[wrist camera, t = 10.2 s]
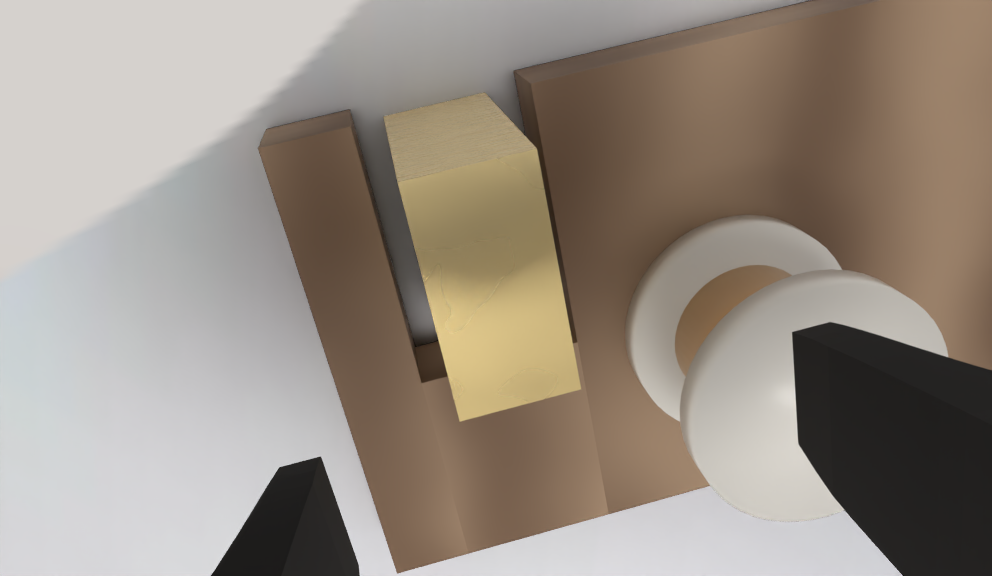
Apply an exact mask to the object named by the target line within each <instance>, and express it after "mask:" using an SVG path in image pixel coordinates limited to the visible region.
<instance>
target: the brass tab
mask: <svg viewBox="0 0 992 576" xmlns="http://www.w3.org/2000/svg"><path fill="white" fill-rule="evenodd" d="M383 117H384V122H385V127H386V131H387V136H388V141H389V145H390V150H391V155H392V159H393V164H394V169H395V173H396V178H397V183H398V186H399V190H400V194H401V198H402V202H403V206H404V209H405V213H406V217H407V221H408V225H409V229H410V233H411V236H412V240H413V244H414V248H415V252H416V256H417V259H418V263H419V267H420V271H421V275H422V279H423V282H424V286H425V290H426V294H427V298H428V302H429V306H430V309H431V313H432V317H433V321H434V325H435V329H436V332H437V336H438V340H439V344H440V348H441V352H442V355H443V359H444V363H445V367H446V371H447V375H448V378H449V382H450V386H451V390H452V394H453V398H454V402H455V405H456V409H457V413H458V417H459V421H464V420H468V419H472V418H475V417H479V416H483V415H487V414H490V413H494V412H498V411H502V410H505V409H509V408H513V407H517V406H520V405H524V404H528V403H532V402H535V401H539V400H543V399H547V398H550V397H554V396H558V395H562V394H565V393H569V392H573V391H577V390H580V389H581V385H580V380H579V375H578V369H577V364H576V358H575V353H574V347H573V342H572V336H571V331H570V326H569V320H568V315H567V309H566V304H565V298H564V293H563V287H562V282H561V277H560V271H559V266H558V260H557V255H556V249H555V244H554V238H553V233H552V228H551V222H550V217H549V211H548V206H547V200H546V195H545V190H544V184H543V179H542V173H541V168H540V162H539V157H538V151H537V148H536V147H535V146H534V145H533V144H532V143H531V142H530V141H529V140H528V138H527V137H526V136H525V135H524V134H523V133H522V132H521V131H520V130H519V129H518V128H517V127H516V126H515V125H514V123H513V122H512V121H511V120H510V119H509V118H508V117H507V116H506V115H505V114H504V113H503V112H502V111H501V109H500V108H499V107H498V106H497V105H496V104H495V103H494V102H493V101H492V100H491V99H490V98H489V97H488V96H487V94H486V93H485V92H484V93H480V94H476V95H471V96H467V97H463V98H459V99H455V100H450V101H446V102H442V103H438V104H434V105H429V106H425V107H421V108H417V109H413V110H408V111H404V112H400V113H396V114H391V115H387V116H383Z"/></svg>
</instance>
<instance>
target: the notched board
mask: <svg viewBox="0 0 992 576" xmlns="http://www.w3.org/2000/svg"><path fill="white" fill-rule="evenodd" d="M514 76H515V81H516V86H517V92H518V97H519V102H520V108H521V113H522V118H523V124H524V129H525V134H526V137H527V138H528V140H529V141H530V142H531V143H532V144H533V145H534V146H535V147H536V148H537V151H538V157H539V162H540V168H541V173H542V179H543V184H544V190H545V195H546V200H547V206H548V211H549V217H550V222H551V228H552V233H553V238H554V244H555V249H556V255H557V260H558V266H559V271H560V277H561V282H562V287H563V293H564V298H565V304H566V309H567V315H568V320H569V326H570V331H571V336H572V342H573V347H574V353H575V358H576V364H577V369H578V375H579V380H580V385H581V389H580V390H577V391H573V392H569V393H565V394H562V395H558V396H554V397H550V398H547V399H543V400H539V401H535V402H532V403H528V404H524V405H520V406H517V407H513V408H509V409H505V410H502V411H498V412H494V413H490V414H487V415H483V416H479V417H475V418H472V419H468V420H464V421H459V417H458V413H457V409H456V405H455V402H454V398H453V394H452V390H451V386H450V382H449V378H448V375H447V371H446V367H445V363H444V359H443V355H442V352H441V348H440V344H439V341H437V342H433V343H429V344H425V345H422V346H418V347H415V345H414V341H413V337H412V334H411V330H410V326H409V323H408V319H407V315H406V312H405V308H404V304H403V301H402V297H401V294H400V290H399V286H398V283H397V279H396V275H395V272H394V268H393V264H392V261H391V257H390V253H389V250H388V246H387V243H386V239H385V235H384V232H383V228H382V224H381V221H380V217H379V213H378V210H377V206H376V203H375V199H374V195H373V192H372V188H371V184H370V181H369V177H368V173H367V170H366V166H365V162H364V159H363V155H362V152H361V148H360V144H359V141H358V137H357V133H356V130H355V126H354V122H353V119H352V115H351V111H350V110H345V111H341V112H337V113H333V114H328V115H324V116H320V117H316V118H311V119H307V120H303V121H299V122H295V123H290V124H286V125H282V126H278V127H273V128H269V129H266V131H265V133H264V136H263V138H262V140H261V143H260V145H259V147H258V150H259V153H260V156H261V159H262V162H263V165H264V168H265V171H266V174H267V177H268V180H269V183H270V186H271V189H272V193H273V196H274V199H275V202H276V205H277V208H278V211H279V214H280V217H281V220H282V223H283V226H284V229H285V232H286V235H287V238H288V241H289V244H290V247H291V251H292V254H293V257H294V260H295V263H296V266H297V269H298V272H299V275H300V278H301V281H302V284H303V287H304V290H305V293H306V296H307V299H308V302H309V306H310V309H311V312H312V315H313V318H314V321H315V324H316V327H317V330H318V333H319V336H320V339H321V342H322V345H323V348H324V351H325V354H326V357H327V360H328V364H329V367H330V370H331V373H332V376H333V379H334V382H335V385H336V388H337V391H338V394H339V397H340V400H341V403H342V406H343V409H344V412H345V415H346V418H347V422H348V425H349V428H350V431H351V434H352V437H353V440H354V443H355V446H356V449H357V452H358V455H359V458H360V461H361V464H362V467H363V470H364V473H365V476H366V480H367V483H368V486H369V489H370V492H371V495H372V498H373V501H374V504H375V507H376V510H377V513H378V516H379V519H380V522H381V525H382V528H383V531H384V534H385V538H386V541H387V544H388V547H389V550H390V553H391V556H392V559H393V562H394V565H395V568H396V571H397V573H401V572H404V571H408V570H411V569H415V568H418V567H422V566H425V565H429V564H433V563H436V562H440V561H443V560H447V559H450V558H454V557H458V556H461V555H465V554H468V553H472V552H475V551H479V550H483V549H486V548H490V547H493V546H497V545H500V544H504V543H508V542H511V541H515V540H518V539H522V538H525V537H529V536H533V535H536V534H540V533H543V532H547V531H550V530H554V529H557V528H561V527H565V526H568V525H572V524H575V523H579V522H582V521H586V520H590V519H593V518H597V517H600V516H604V515H607V514H611V513H615V512H618V511H622V510H625V509H629V508H632V507H636V506H640V505H643V504H647V503H650V502H654V501H657V500H661V499H665V498H668V497H672V496H675V495H679V494H682V493H686V492H689V491H693V490H697V489H700V488H704V487H707V486H710V485H709V483H708V482H707V480H706V479H705V477H704V476H703V474H702V473H701V471H700V470H699V468H698V467H697V465H696V464H695V462H694V461H693V459H692V457H691V455H690V454H689V452H688V450H687V447H686V445H685V442H684V439H683V435H682V430H681V425H680V421H677V420H676V419H674V418H673V417H671V416H669V415H668V414H666V413H665V412H664V411H663V410H662V409H661V408H660V407H658V406H657V404H656V403H655V402H654V401H653V400H652V398H651V397H650V396H649V394H648V393H647V391H646V390H645V388H644V387H643V386H642V384H641V383H640V381H639V379H638V378H637V376H636V374H635V373H634V371H633V369H632V366H631V364H630V361H629V358H628V353H627V349H626V340H625V328H626V319H627V313H628V308H629V305H630V302H631V299H632V296H633V294H634V292H635V290H636V288H637V285H638V283H639V281H640V280H641V278H642V277H643V275H644V274H645V272H646V270H647V269H648V268H649V266H650V265H651V264H652V263H653V262H654V260H655V259H656V258H657V257H658V256H659V255H660V254H661V253H662V252H663V251H664V250H665V249H666V248H667V247H668V246H669V245H671V244H672V243H673V242H674V241H676V240H677V239H678V238H680V237H681V236H683V235H684V234H686V233H688V232H689V231H691V230H693V229H695V228H697V227H699V226H701V225H703V224H706V223H708V222H711V221H714V220H717V219H720V218H725V217H730V216H736V215H761V216H767V217H772V218H776V219H779V220H782V221H784V222H787V223H789V224H791V225H793V226H794V227H796V228H798V229H800V230H801V231H803V232H804V233H806V234H808V235H809V236H811V237H812V238H814V239H816V240H817V241H818V242H819V243H821V244H822V245H823V246H824V247H826V248H827V249H828V251H829V252H830V253H831V254H832V255H833V256H834V257H835V259H836V260H837V262H838V264H839V265H840V267H841V269H842V270H849V271H854V272H858V273H863V274H866V275H869V276H871V277H874V278H877V279H879V280H880V281H882V282H884V283H886V284H887V285H889V286H891V287H892V288H894V289H895V290H897V291H899V292H900V293H902V294H903V295H905V296H907V297H908V298H910V299H911V300H913V301H915V302H916V303H917V304H918V305H919V306H921V307H922V308H923V309H924V310H925V311H926V312H927V313H928V314H929V315H930V317H931V318H932V319H933V320H934V321H935V323H936V325H937V326H938V328H939V330H940V332H941V333H942V336H943V339H944V341H945V344H946V347H947V352H948V357H949V358H952V359H955V360H958V361H962V362H965V363H968V364H972V365H975V366H978V367H982V368H985V369H989V370H992V0H811V1H807V2H803V3H799V4H794V5H790V6H786V7H782V8H777V9H773V10H769V11H765V12H760V13H756V14H752V15H748V16H743V17H739V18H735V19H731V20H727V21H722V22H718V23H714V24H710V25H705V26H701V27H697V28H693V29H688V30H684V31H680V32H676V33H671V34H667V35H663V36H659V37H655V38H650V39H646V40H642V41H638V42H633V43H629V44H625V45H621V46H616V47H612V48H608V49H604V50H599V51H595V52H591V53H587V54H583V55H578V56H574V57H570V58H566V59H561V60H557V61H553V62H549V63H544V64H540V65H536V66H532V67H527V68H523V69H519V70H515V71H514Z"/></svg>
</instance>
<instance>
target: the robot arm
mask: <svg viewBox="0 0 992 576" xmlns="http://www.w3.org/2000/svg"><path fill="white" fill-rule="evenodd" d="M792 342H793V360H794V378H795V396H796V414H797V432H798V444H799V446H800V447H801V449H802V451H803V452H804V454H805V455H806V457H807V458H808V460H809V461H810V463H811V465H812V466H813V468H814V469H815V471H816V472H817V474H818V475H819V477H820V478H821V480H822V481H823V483H824V484H825V485H826V487H827V488H828V490H829V491H830V493H831V494H832V496H833V497H834V498H835V499H836V501H837V502H838V503H839V504H840V505H841V506H842V508H843V509H844V510H845V511H846V512H847V513H848V514H849V516H850V517H851V518H852V519H853V520H854V521H855V522H856V524H857V525H858V526H859V527H860V528H861V529H862V530H863V532H864V533H865V534H866V535H867V536H868V537H869V538H870V539H871V541H872V542H873V543H874V544H875V545H876V546H877V547H878V548H879V550H880V551H881V552H882V553H883V554H884V555H885V556H886V557H887V558H888V560H889V561H890V562H891V563H892V564H893V565H894V566H895V567H896V569H897V570H898V571H899V572H900V573H901V574H902V575H903V576H992V370H989V369H985V368H982V367H978V366H975V365H972V364H968V363H965V362H962V361H958V360H955V359H952V358H949V357H946V356H942V355H939V354H936V353H933V352H930V351H927V350H923V349H920V348H917V347H914V346H911V345H908V344H905V343H902V342H899V341H895V340H892V339H889V338H886V337H883V336H880V335H877V334H873V333H870V332H867V331H863V330H860V329H857V328H853V327H849V326H846V325H842V324H837V323H833V322H828V323H824V324H820V325H817V326H813V327H809V328H805V329H801V330H798V331H794V332H792ZM211 576H360V575H359V565H358V562H357V559H356V556H355V553H354V551H353V548H352V545H351V542H350V539H349V536H348V533H347V530H346V527H345V525H344V522H343V519H342V516H341V513H340V510H339V507H338V504H337V502H336V499H335V496H334V493H333V490H332V487H331V484H330V481H329V479H328V476H327V473H326V470H325V467H324V464H323V461H322V458H321V457H317V458H313V459H310V460H306V461H302V462H298V463H294V464H291V465H287V466H283V467H279V469H278V470H277V472H276V474H275V475H274V477H273V478H272V480H271V481H270V483H269V484H268V486H267V488H266V489H265V491H264V492H263V494H262V496H261V497H260V499H259V501H258V502H257V504H256V506H255V507H254V509H253V511H252V512H251V514H250V516H249V517H248V519H247V520H246V522H245V524H244V525H243V527H242V529H241V530H240V532H239V533H238V535H237V537H236V538H235V540H234V541H233V543H232V544H231V546H230V547H229V549H228V551H227V552H226V554H225V555H224V557H223V558H222V560H221V561H220V563H219V564H218V566H217V568H216V569H215V571H214V572H213V573H212V575H211Z"/></svg>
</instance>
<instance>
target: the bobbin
mask: <svg viewBox="0 0 992 576" xmlns="http://www.w3.org/2000/svg"><path fill="white" fill-rule="evenodd" d="M828 322H833V323H837V324H842V325H846V326H849V327H853V328H857V329H860V330H863V331H867V332H870V333H873V334H877V335H880V336H883V337H886V338H889V339H892V340H895V341H899V342H902V343H905V344H908V345H911V346H914V347H917V348H920V349H923V350H927V351H930V352H933V353H936V354H939V355H942V356H946V357H948V352H947V347H946V344H945V341H944V339H943V336H942V333H941V332H940V330H939V328H938V326H937V325H936V323H935V321H934V320H933V319H932V318H931V317H930V315H929V314H928V313H927V312H926V311H925V310H924V309H923V308H922V307H921V306H919V305H918V304H917V303H916V302H915V301H913V300H911V299H910V298H908V297H907V296H905V295H903V294H902V293H900V292H899V291H897V290H895V289H894V288H892V287H891V286H889V285H887V284H886V283H884V282H882V281H880V280H879V279H877V278H874V277H871V276H869V275H866V274H863V273H858V272H854V271H849V270H842V269H841V267H840V265H839V264H838V262H837V260H836V259H835V257H834V256H833V255H832V254H831V253H830V252H829V251H828V249H827V248H826V247H824V246H823V245H822V244H821V243H819V242H818V241H817V240H816V239H814V238H812V237H811V236H809V235H808V234H806V233H804V232H803V231H801V230H800V229H798V228H796V227H794V226H793V225H791V224H789V223H787V222H784V221H782V220H779V219H776V218H772V217H767V216H761V215H736V216H730V217H725V218H720V219H717V220H714V221H711V222H708V223H706V224H703V225H701V226H699V227H697V228H695V229H693V230H691V231H689V232H688V233H686V234H684V235H683V236H681V237H680V238H678V239H677V240H676V241H674V242H673V243H672V244H671V245H669V246H668V247H667V248H666V249H665V250H664V251H663V252H662V253H661V254H660V255H659V256H658V257H657V258H656V259H655V260H654V262H653V263H652V264H651V265H650V266H649V268H648V269H647V270H646V272H645V274H644V275H643V277H642V278H641V280H640V281H639V283H638V285H637V288H636V290H635V292H634V294H633V296H632V299H631V302H630V305H629V308H628V313H627V319H626V328H625V340H626V349H627V353H628V358H629V361H630V364H631V366H632V369H633V371H634V373H635V374H636V376H637V378H638V379H639V381H640V383H641V384H642V386H643V387H644V388H645V390H646V391H647V393H648V394H649V396H650V397H651V398H652V400H653V401H654V402H655V403H656V404H657V406H658V407H660V408H661V409H662V410H663V411H664V412H665V413H666V414H668V415H669V416H671V417H673V418H674V419H676V420H677V421H680V425H681V430H682V435H683V439H684V442H685V445H686V447H687V450H688V452H689V454H690V455H691V457H692V459H693V461H694V462H695V464H696V465H697V467H698V468H699V470H700V471H701V473H702V474H703V476H704V477H705V479H706V480H707V482H708V483H709V485H710V486H711V487H712V488H713V489H714V491H715V492H716V493H717V494H718V495H719V496H720V497H721V498H722V499H723V500H725V501H726V502H727V503H728V504H729V505H731V506H733V507H734V508H736V509H738V510H739V511H741V512H744V513H746V514H749V515H751V516H753V517H757V518H761V519H765V520H771V521H780V522H799V521H807V520H814V519H818V518H823V517H827V516H830V515H833V514H836V513H839V512H842V511H845V510H844V509H843V508H842V506H841V505H840V504H839V503H838V502H837V501H836V499H835V498H834V497H833V496H832V494H831V493H830V491H829V490H828V488H827V487H826V485H825V484H824V483H823V481H822V480H821V478H820V477H819V475H818V474H817V472H816V471H815V469H814V468H813V466H812V465H811V463H810V461H809V460H808V458H807V457H806V455H805V454H804V452H803V451H802V449H801V447H800V446H799V444H798V432H797V414H796V396H795V378H794V360H793V342H792V332H794V331H798V330H801V329H805V328H809V327H813V326H817V325H820V324H824V323H828Z"/></svg>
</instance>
